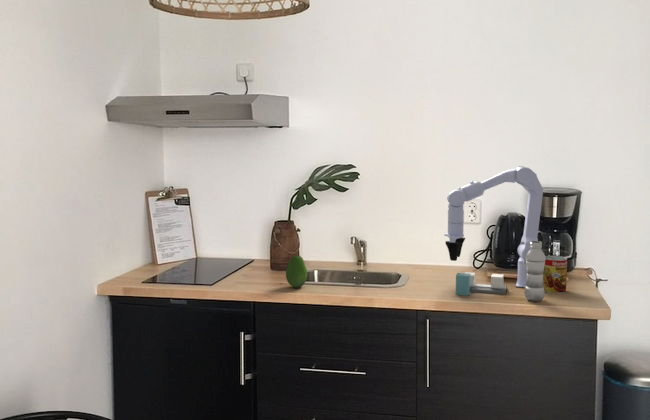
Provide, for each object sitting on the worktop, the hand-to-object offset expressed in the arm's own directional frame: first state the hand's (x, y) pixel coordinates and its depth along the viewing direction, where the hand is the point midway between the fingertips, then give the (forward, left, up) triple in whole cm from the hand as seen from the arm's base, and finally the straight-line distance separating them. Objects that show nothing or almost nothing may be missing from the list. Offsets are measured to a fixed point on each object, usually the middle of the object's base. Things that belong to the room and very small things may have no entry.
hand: (455, 258), depth 234 cm
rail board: (-11, +5, -10) cm, 15 cm away
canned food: (-35, -1, -10) cm, 37 cm away
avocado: (+55, +22, -10) cm, 60 cm away
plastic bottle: (-29, +15, -10) cm, 34 cm away
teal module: (-5, +13, -10) cm, 17 cm away
